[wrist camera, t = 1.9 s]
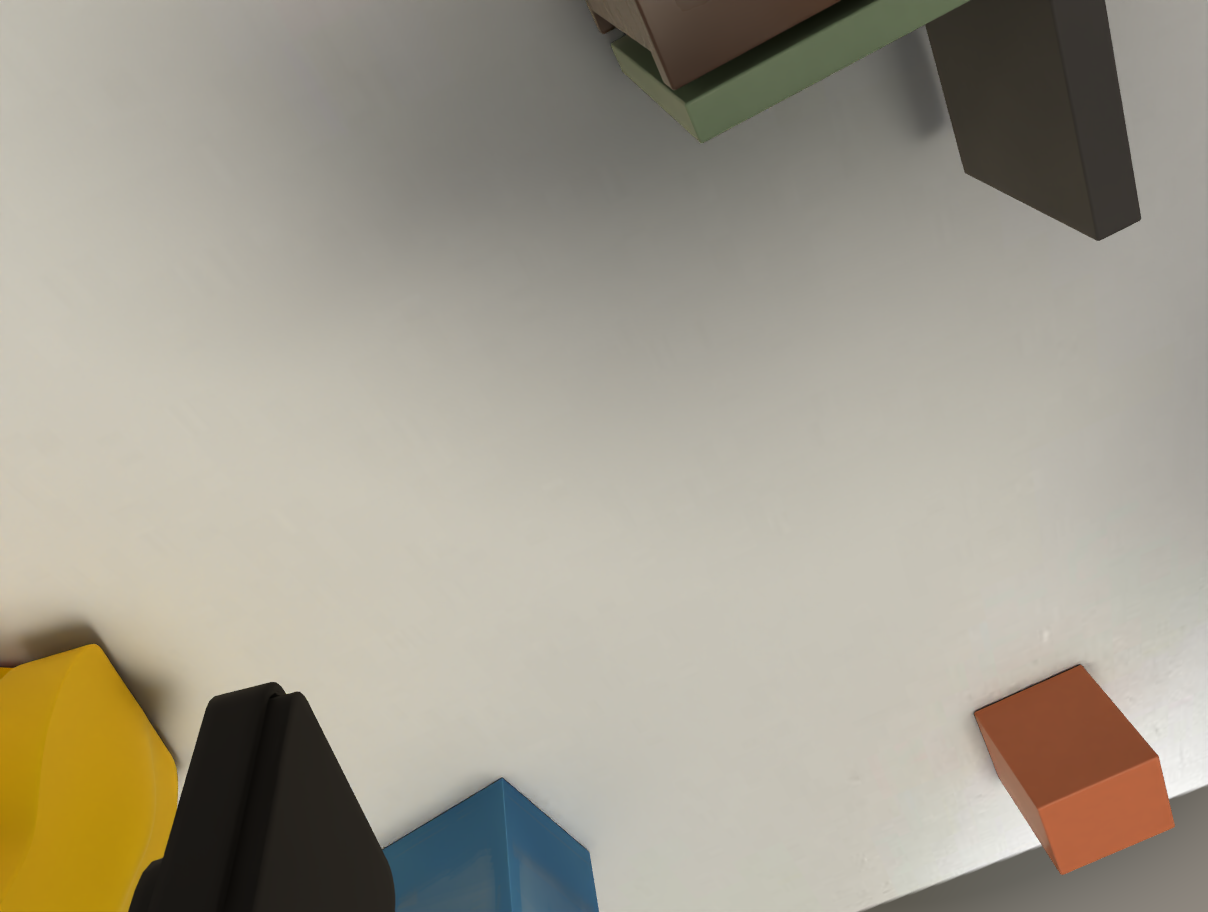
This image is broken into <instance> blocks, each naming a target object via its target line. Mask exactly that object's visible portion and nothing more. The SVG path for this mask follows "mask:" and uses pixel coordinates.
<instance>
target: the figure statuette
mask: <svg viewBox="0 0 1208 912" xmlns="http://www.w3.org/2000/svg"><path fill="white" fill-rule="evenodd" d="M177 799H178V776H177V769H176V765H175V762H174V759H173V757H172V756H171V754H170V753H169V751H168V750H167V748H166V746H165V745H164V743H163V742H162V740H161V739H160V737H159V736H158V734H157V733H156V731H155V730H154V728H153V726H152V725H151V723H150V722H149V720H148V718H147V717H146V715H145V713H144V712H143V710H142V709H141V707H140V706H139V704H138V703H137V701H136V700H135V698H134V697H133V696H132V694H131V693H130V691H129V690H128V688H127V687H126V685H125V684H124V682H123V681H122V679H121V678H120V676H119V675H118V673H117V672H116V670H115V669H114V667H113V666H112V664H111V663H110V661H109V660H108V658H107V656H106V655H105V653H104V652H103V650H102V649H101V648H100V647H99V646H98V645H96V644H90V645H85V646H82V647H78V648H75V649H72V650H68V651H65V652H62V653H58V654H55V655H52V656H48V657H45V658H41V659H38V660H35V661H31V662H28V663H25V664H21V665H19V666H17V667H15V668H2V667H0V912H128V910H129V907H130V904H131V901H132V897H133V894H134V891H135V888H136V886H137V884H138V882H139V879H140V877H141V875H142V872H143V871H144V870H145V869H146V868H147V867H148V866H149V864H150V863H151V862H152V861H155V860H158V859H160V858H163V856H164V852H165V849H166V845H167V842H168V838H169V835H170V832H171V828H172V825H173V821H174V818H175V814H176V811H177Z"/></svg>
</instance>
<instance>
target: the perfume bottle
mask: <svg viewBox="0 0 1208 912" xmlns="http://www.w3.org/2000/svg"><path fill="white" fill-rule="evenodd" d="M382 851H383V853H384V855H385V857H386V859H387V861H388V863H389V866H390V868H391V872H392V876H393V881H394V887H395V912H599V909H598V903H597V897H596V890H595V884H594V878H593V872H592V865H591V859H590V853H589V852H588V851H587V850H586V849H585V848H584V847H582V846H581V845H580V844H579V843H578V842H577V841H575V840H574V839H573V838H572V837H571V836H570V835H568V834H567V833H566V832H565V831H564V830H563V829H561V828H560V827H559V826H558V825H557V824H556V823H554V822H553V821H552V820H551V819H550V818H549V817H547V816H546V815H545V814H544V813H543V812H542V811H540V810H539V809H538V808H537V807H536V806H535V805H533V804H532V803H531V802H530V801H529V800H527V799H526V798H525V797H524V796H523V795H522V794H520V793H519V792H518V791H517V790H516V789H515V788H513V787H512V786H511V785H510V784H509V783H508V782H506V781H505V780H504V779H503V778H502V779H500V780H498V781H497V782H495V783H493V784H492V785H490V786H488V787H487V788H485V789H483V790H482V791H480V792H478V793H477V794H475V795H473V796H472V797H470V798H468V799H467V800H465V801H463V802H462V803H460V804H458V805H457V806H455V807H453V808H452V809H450V810H448V811H447V812H445V813H443V814H442V815H440V816H438V817H437V818H435V819H433V820H432V821H430V822H428V823H427V824H425V825H423V826H422V827H420V828H418V829H417V830H415V831H413V832H412V833H410V834H408V835H407V836H405V837H403V838H402V839H400V840H398V841H397V842H395V843H393V844H392V845H390V846H388V847H387V848H385V849H383V850H382Z"/></svg>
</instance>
